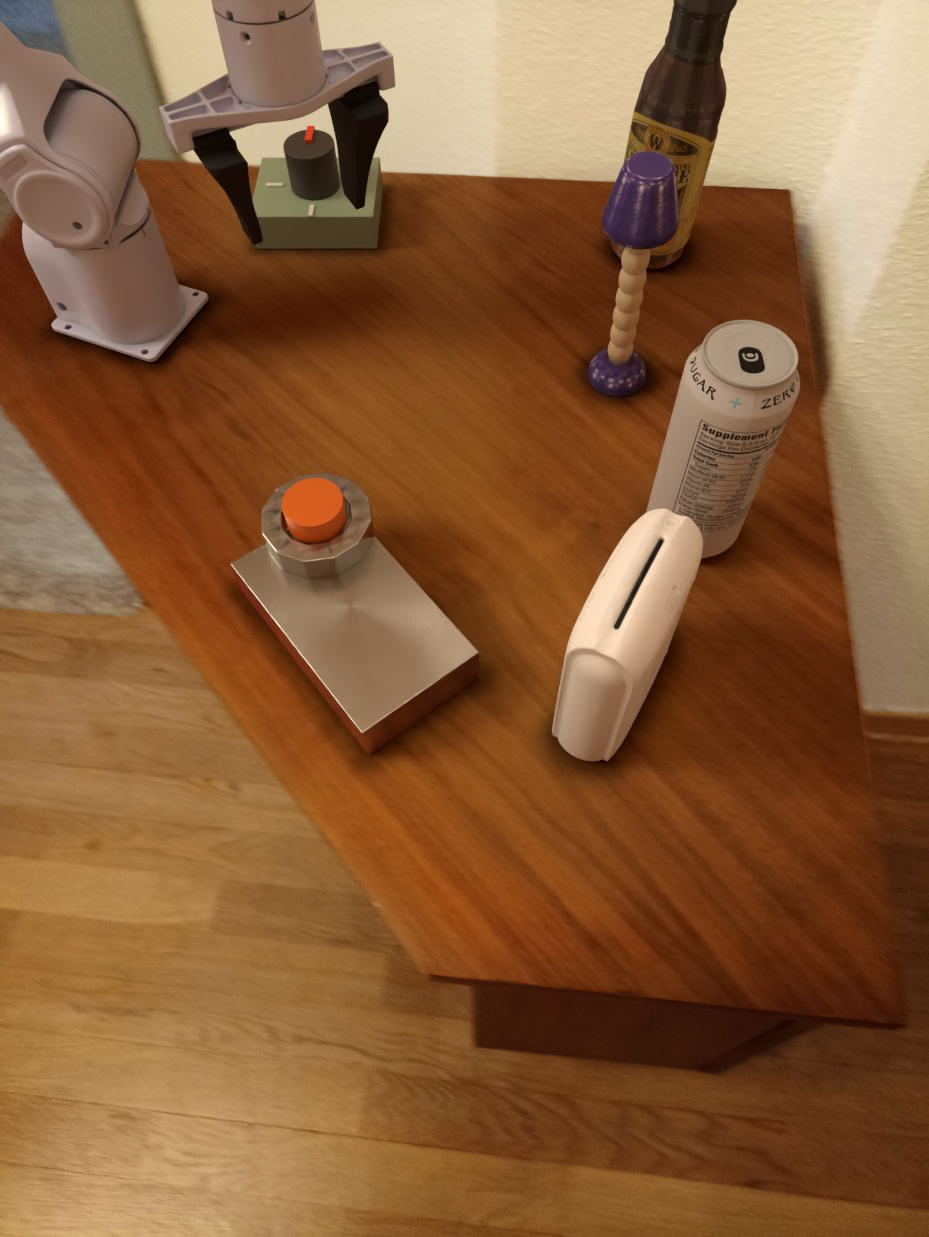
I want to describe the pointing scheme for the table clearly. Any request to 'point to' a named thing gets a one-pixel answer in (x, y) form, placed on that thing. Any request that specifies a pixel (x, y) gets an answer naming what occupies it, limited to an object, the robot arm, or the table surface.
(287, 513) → the button
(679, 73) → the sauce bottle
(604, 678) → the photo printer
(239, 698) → the table surface
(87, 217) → the robot arm
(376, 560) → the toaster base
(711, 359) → the energy drink can
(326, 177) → the knob
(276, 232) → the panel
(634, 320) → the toy lamp
